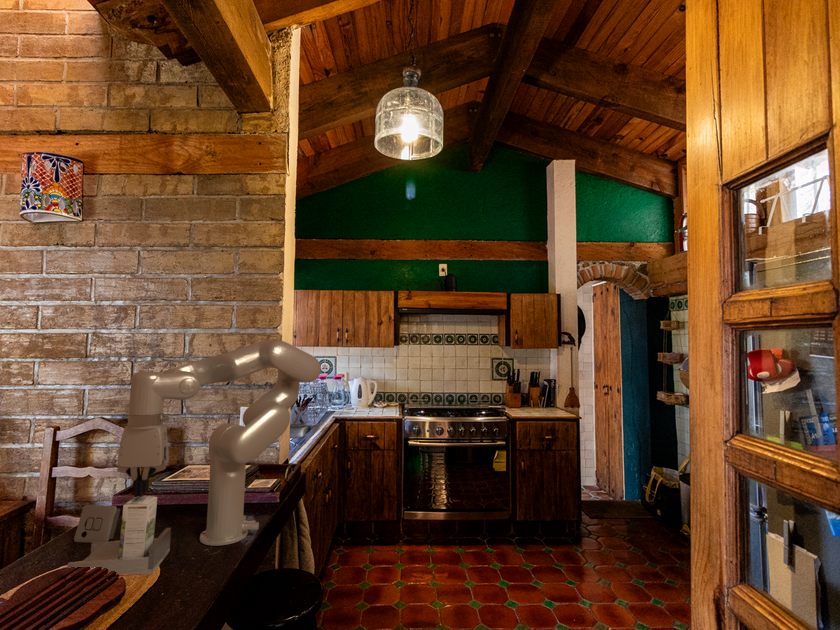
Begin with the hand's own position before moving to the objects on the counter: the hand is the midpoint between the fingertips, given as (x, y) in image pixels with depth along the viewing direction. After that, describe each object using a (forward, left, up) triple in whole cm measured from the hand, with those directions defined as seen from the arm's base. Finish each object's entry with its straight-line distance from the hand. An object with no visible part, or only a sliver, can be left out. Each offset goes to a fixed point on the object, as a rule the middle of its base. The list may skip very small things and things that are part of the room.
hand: (140, 494), depth 110 cm
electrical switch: (+16, -17, -17) cm, 29 cm away
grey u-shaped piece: (+3, 0, -16) cm, 17 cm away
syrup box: (0, 0, -16) cm, 16 cm away
